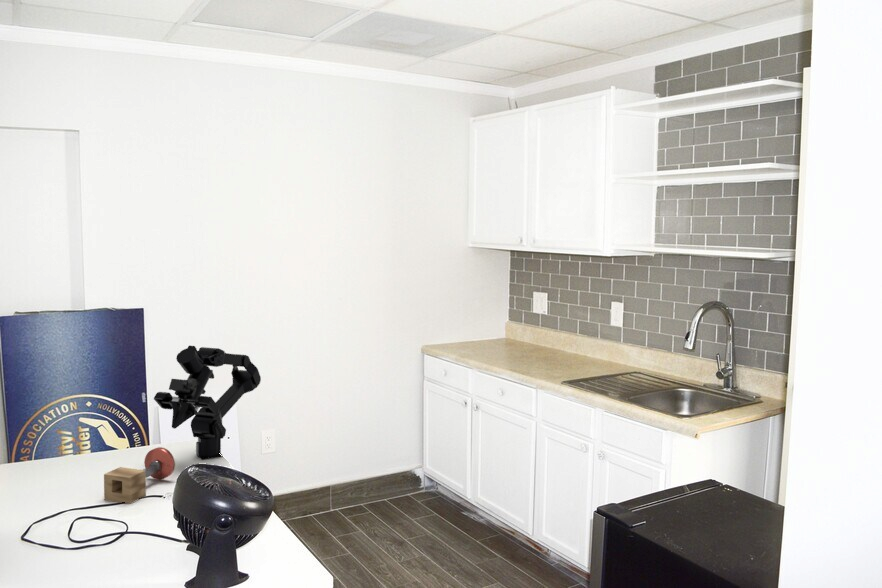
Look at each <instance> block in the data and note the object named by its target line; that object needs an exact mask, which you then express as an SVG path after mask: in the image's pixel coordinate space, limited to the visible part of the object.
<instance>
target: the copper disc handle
mask: <svg viewBox="0 0 882 588" xmlns="http://www.w3.org/2000/svg"><path fill="white" fill-rule="evenodd" d="M175 462H176V461H175V458H174V455H173V454H172V453H171V451H170V450H168V448H166V447H161V446H159V447H155V448H153V449H151V450H149V451H148V452H147V453H146V455H145V457H144V467H145V468H143V469H142V470H146V479H147V478H149V477H151V478H153V479H155V480H160V481H161V480H164V479H166V478H169V477H170V476H171V475H172V474H173V473H174V471H175V467H176V463H175Z"/></svg>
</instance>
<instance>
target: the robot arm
mask: <svg viewBox="0 0 882 588" xmlns="http://www.w3.org/2000/svg"><path fill="white" fill-rule="evenodd" d="M175 359H176V362H177V363H178V365H180V367H181V368H182V369H183V371H185V373H186V374H189V375H188V377H187V378H186V379H178V378H171V379H170V383H169V386H168V387H169V388H168V390H169V391H174V395H175V396H172V394H171V393H170V392H166V391H158V392H156V393H155V395H154V397H153V400H154V401H155V402H156V403H157V405H159V407H160V408H162V409H164V410H172V420H171V428H172V429H174V430H175V429H177V428H178V427H180V425H182V424H183V423H185V422H186V421H188V419H191V418H192V419H191V421H190V429H191V433H192V436H193V438H197V441H196V442H195V443H196V444H195V445H196V446H195V448H196V449H195V452H196V453H195V454H196V456H197V457H198V458H199V459H200V460H208V459H215V458H222V457H221V455H222V456H223V454H222V453H221V452H222V451H221V449H222V448H221V447H222V443H221V442H222V440H221V439H224V437H226V432H227V429H226V427H225V426H224V425H223V418H224V417H225V416H226V414H227V413H229V412H230V410H231V409H232V408H233V407H234V405H236V403H237V402H238V401H239V400H240V399H241V397H243V395H244V394H247V393H250V392H253V391H254V390H255V389H256V388H258V387H259V386H260V384H261V381H262V379H261V378H262V377H261V374H260V372H259V369H258V367H257V366H256V365H255V364H254V363H253V361H251V358H250V356H249V355H246V354H239V353H238V354H236V353H235V354H234V353H226V352H225V350H223V349H221V348H217V347H205V346H202V347H200V348H198V349H197V347H196V346H195V345H188V347H187V348H184V349H181V351H180V352H178V353H177V354H176V358H175ZM224 365H228V366H232V370H231V376H232V384H231V386H229V387H228V388H227V390H226V391H225V392H224V393H223V394H222V395H221V396H220V397H219V399H217V401H215V400H214V398H213V397H212V396H207V395H205V394H206V390H205V388H206V386H207V384H208V382H209V380H210V379H211V380H213V379H214V378H215V374H214V372H213V369H210V367H215V368H217V367H222V366H224ZM238 367H242V368H244V370H243V369H239V368H238ZM219 453H220V454H221V455H220V454H219Z"/></svg>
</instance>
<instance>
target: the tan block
mask: <svg viewBox="0 0 882 588" xmlns="http://www.w3.org/2000/svg"><path fill="white" fill-rule="evenodd" d="M146 482H147V478H146V470H143V469H137V468H131V467H130V468H129V467H123V466H119V467H117V468H114V469H112V470H110V471H108V472H105V473H103V487H104V488H103V490H104V491H103V498H104V501H108V502H110V501H111V502H117V503H122V502H125V503H124V504H128V503H129V505H130V504H132V502H133V503H135V502H136V501H135V500H137V499H138V500H140V499H142V498H144V497H146V496H147V495H146V494H147V488H146V485H147V483H146ZM143 496H144V497H143ZM141 497H142V498H141ZM139 498H140V499H139ZM138 500H137V501H138ZM134 501H135V502H134Z"/></svg>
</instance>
